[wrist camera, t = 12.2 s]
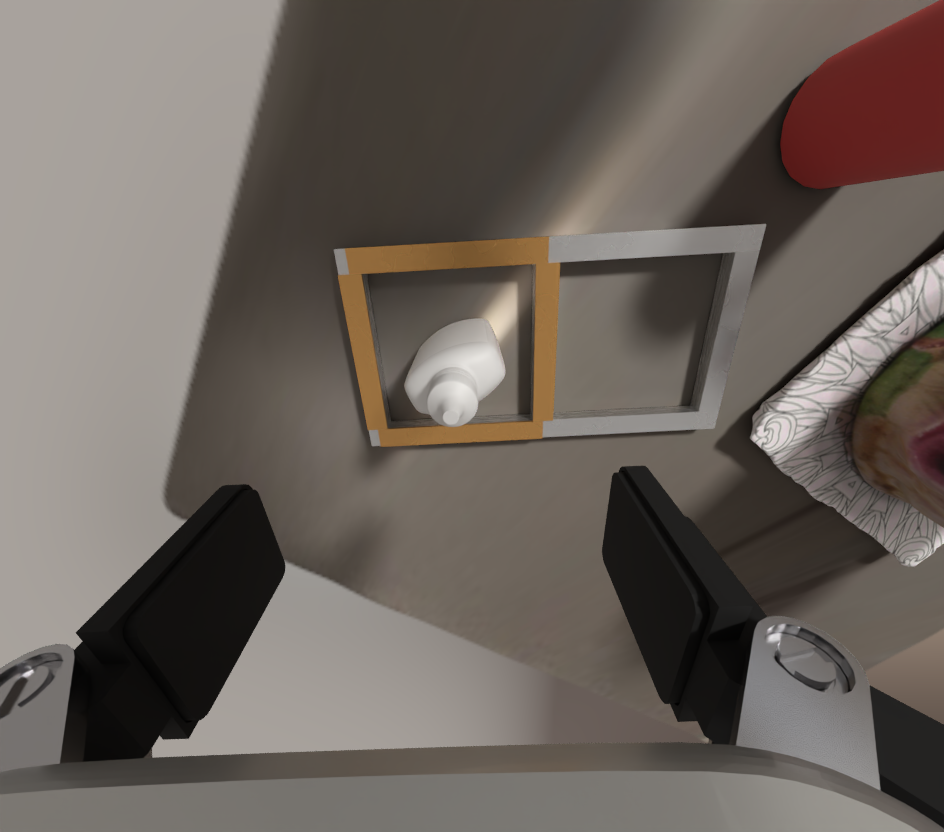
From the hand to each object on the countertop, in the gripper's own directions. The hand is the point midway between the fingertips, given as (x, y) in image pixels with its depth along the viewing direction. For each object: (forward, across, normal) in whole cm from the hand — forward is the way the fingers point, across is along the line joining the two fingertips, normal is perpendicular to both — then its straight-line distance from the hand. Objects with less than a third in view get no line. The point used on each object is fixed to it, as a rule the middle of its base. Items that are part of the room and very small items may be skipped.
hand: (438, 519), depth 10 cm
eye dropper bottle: (+19, 0, 0) cm, 19 cm away
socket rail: (+18, -6, 0) cm, 19 cm away
